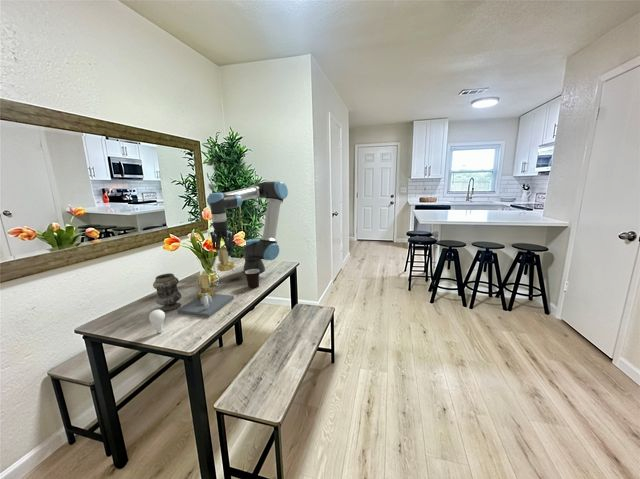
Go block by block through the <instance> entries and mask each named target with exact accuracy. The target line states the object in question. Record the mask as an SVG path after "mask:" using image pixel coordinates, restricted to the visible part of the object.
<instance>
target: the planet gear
mask: <svg viewBox="0 0 640 479" xmlns="http://www.w3.org/2000/svg"><path fill="white" fill-rule="evenodd" d="M226 250H227V248H226V247H220V249H219V256H220V261H219V263H218V264H217V265H216V266H217V267H216V268H217V271H219V272H229V271H232V270H234V268H235V263H234V262H233V261H230V262H227V255H226Z"/></svg>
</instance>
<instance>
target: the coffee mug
mask: <svg viewBox="0 0 640 479" xmlns="http://www.w3.org/2000/svg"><path fill="white" fill-rule="evenodd" d="M244 274H245V277H246V282H247V286H248V289H251V290H253V289H257V288H259V287H260V273H259V270H258V269H250V270H247V271H245V273H244Z"/></svg>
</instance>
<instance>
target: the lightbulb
mask: <svg viewBox="0 0 640 479" xmlns="http://www.w3.org/2000/svg"><path fill="white" fill-rule="evenodd" d="M165 318H166V312H163V311H162V310H160V309H154V310H153V311H151V312H150V314H149V315H148V320H149V322H150V323H151V324H152V325H153V326H154V329H155V332H156V333H157V334H161V333H162V332H164V328H163V327H164V321H165Z"/></svg>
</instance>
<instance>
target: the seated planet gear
mask: <svg viewBox="0 0 640 479" xmlns="http://www.w3.org/2000/svg"><path fill="white" fill-rule="evenodd" d="M198 281H199V282H198V283H199V290H198V292H196V296H197V297H196V298H199V299H200V300H201V298H202V297H203V296H204V295H203V294H204V293H208V295H209V296H211V297H214V295H215V294H216V292H215V289H212V288H211V287H210V286H211V284H210V278H209V275H208V274H200V275H199V276H198Z"/></svg>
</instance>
